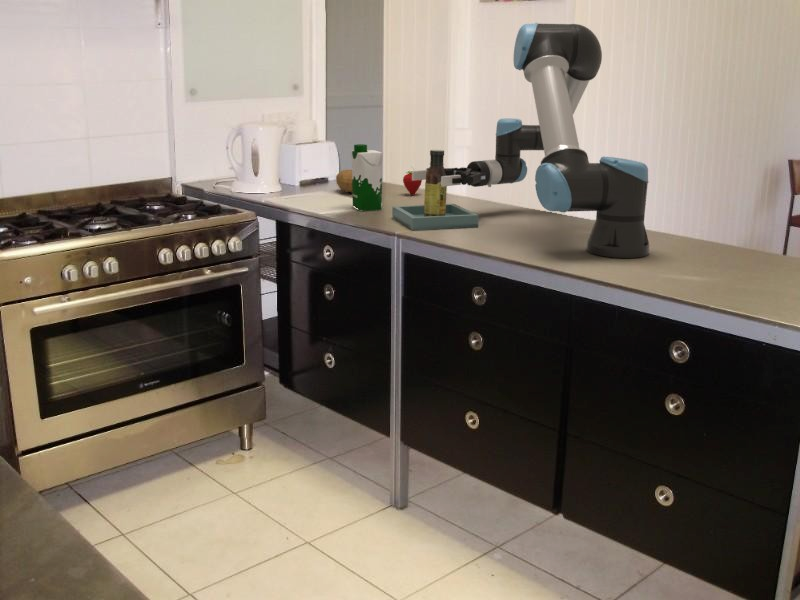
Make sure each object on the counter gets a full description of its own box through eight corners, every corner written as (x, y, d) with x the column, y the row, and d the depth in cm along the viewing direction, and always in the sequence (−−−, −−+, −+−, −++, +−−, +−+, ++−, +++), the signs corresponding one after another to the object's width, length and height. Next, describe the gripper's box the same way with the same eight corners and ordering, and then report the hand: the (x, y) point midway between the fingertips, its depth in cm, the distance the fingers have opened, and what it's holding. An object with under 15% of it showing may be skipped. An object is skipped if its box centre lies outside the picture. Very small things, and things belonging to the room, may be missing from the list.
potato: (353, 188, 313) (353, 166, 311) (373, 194, 302) (373, 171, 300) (329, 191, 308) (329, 168, 306) (349, 196, 297) (349, 173, 295)
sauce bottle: (443, 221, 249) (446, 152, 243) (422, 220, 250) (424, 151, 244) (446, 217, 255) (449, 149, 249) (425, 216, 256) (428, 148, 251)
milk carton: (349, 207, 276) (348, 143, 271) (375, 205, 280) (375, 142, 274) (358, 211, 268) (357, 146, 263) (385, 210, 272) (385, 145, 266)
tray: (478, 227, 247) (478, 215, 246) (412, 230, 241) (412, 218, 240) (453, 215, 265) (454, 203, 264) (392, 218, 259) (392, 206, 258)
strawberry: (398, 195, 299) (399, 166, 297) (412, 193, 305) (412, 164, 302) (412, 197, 296) (412, 168, 293) (425, 195, 302) (426, 166, 299)
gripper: (511, 191, 251) (454, 197, 239) (456, 180, 270) (401, 186, 258) (512, 165, 249) (455, 170, 237) (456, 156, 268) (401, 160, 256)
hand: (426, 178), depth 248 cm, fingers open, 13 cm apart
